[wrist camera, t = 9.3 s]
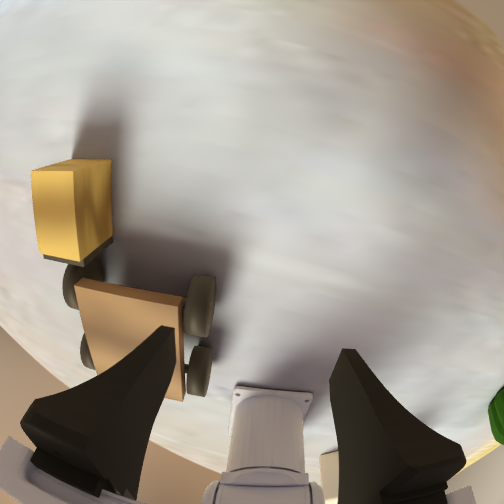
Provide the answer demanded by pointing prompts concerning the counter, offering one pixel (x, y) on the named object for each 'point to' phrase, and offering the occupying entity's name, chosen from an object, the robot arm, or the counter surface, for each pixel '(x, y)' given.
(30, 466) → the robot arm
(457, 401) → the counter surface
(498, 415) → the bell pepper
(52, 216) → the block
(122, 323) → the trolley
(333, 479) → the container
